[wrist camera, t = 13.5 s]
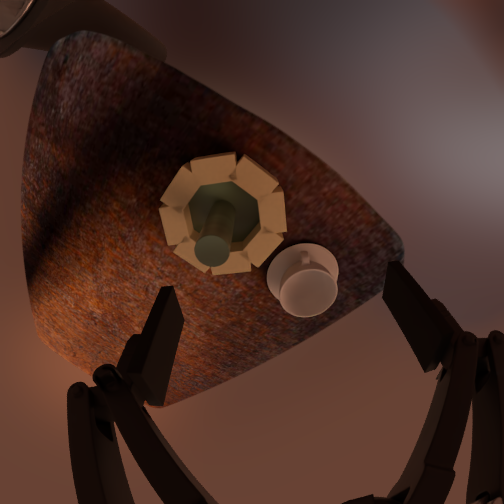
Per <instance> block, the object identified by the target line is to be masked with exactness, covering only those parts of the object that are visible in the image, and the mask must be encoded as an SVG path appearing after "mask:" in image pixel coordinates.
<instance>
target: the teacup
mask: <svg viewBox="0 0 504 504" xmlns="http://www.w3.org/2000/svg"><path fill="white" fill-rule="evenodd" d="M337 278H338V264H337V261H336V259H335V257H334V256H333V255H332V253H331V252H330V251H328V250H327V249H326V248H324V247H322V246H319V245H316V244H310V243H303V244H297V245H293V246H291V247H288V248H286V249H285V250H283V251H282V252H280V253H279V254H278V255H277V256H276V257H275V258H274V259H273V261H272V262H271V264H270V266H269V269H268V272H267V284H268V287H269V289H270V291H271V293H272V294H273V295H274V296H275V297H276V298H277V299H278V300H280V303H281V305H282V307H283V308H284V309H285V310H286V311H287V312H288V313H290V314H292V315H294V316H298V317H311V316H315V315H318V314H320V313H322V312H324V311H325V310H326V309H328V308H329V307H330V306H331V305H332V303H333V302H334V300H335V298H336V295H337V283H336V281H337Z"/></svg>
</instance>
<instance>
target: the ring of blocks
mask: <svg viewBox="0 0 504 504" xmlns="http://www.w3.org/2000/svg"><path fill="white" fill-rule="evenodd" d="M229 181H232V182H234V183H235V184H237V185H238V186H239V187H241V188H242V189H243V190H245V191H246V192H247V193H249V194H250V195H251V196H253V197H254V198H255V199H257V201H258V210H259V218H260V222H259V223H258V224H257V225H256V226H255V228H254V229H253V230H252V231H251V232H250V234H249V235H248V236H247V237H246V238H245V239H244V241H241V242H233V243H231V248H230V255H229V258H228V260H227V261H226V262H225V263H224V264H222V265H220V266H217V267H211V270H212V274H213V275H219V274H229V273H239V272H248V271H251V263H252V264H254V265H255V266H256V267H259V266H260V265H261V264H262V263H263V262H264V261H265V260H266V259H267V257H268V256H269V255H270V254H271V253H272V252H273V251H274V250H275V249H276V248H277V246H278V245H279V244H280V243H281V242H282V241H283V240H284V238H283V235H282V232H287V228H286V216H285V203H284V192H283V190H282V188H281V186H277V185H278V184H279V183H278V180H277V178H276V177H274V176H273V175H272V174H270V173H269V172H268V171H267V170H265V169H264V168H263V167H261V166H260V165H259V164H257V163H256V162H255V161H254V160H252V159H251V158H250V157H248V156H247V155H246V154H243V156H242V157H241V158H240V159H239V161H238V162H237V157H236V152H228V153H221V154H214V155H208V156H202V157H196V158H194V159H192V160H191V161H190V163H188V162H187V163H186V164H184V165H183V166H182V167H181V168H180V170H179V171H178V173H177V174H176V176H175V177H174V179H173V180H172V182H171V183H170V185H169V186H168V188H167V190H166V191H165V193H164V194H163V196H162V197H161V199H160V200H161V201H162V202H163V203H164V204H163V205H162V206H161V207H160V208H159V211H160V216H161V220H162V224H163V228H164V232H165V236H166V239H167V243H168V245H175V244H177V245H176V247H175V249H174V251H173V252H174V253H175V254H177V255H178V256H180V257H181V258H183V259H184V260H186V261H187V262H189V263H190V264H192V265H193V266H195V267H196V268H198V269H199V270H201V271H202V272H204V273H205V272H206V271H207V270H208V269H209V266H206V265H204V264H202V263H201V262H200V261H199V260H198V259H197V258H196V256H195V252H194V247H195V244H196V242H197V239H198V237H199V234H200V233H198V232H197V231H196V230H194V228H193V224H192V219H191V214H190V209H189V205H188V203H189V201H190V200H191V199H192V197H193V196H194V194H195V193H196V191H197V190H198V189H199V187H200V186H201V185H208V184H215V183H222V182H229Z"/></svg>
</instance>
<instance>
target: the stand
mask: <svg viewBox="0 0 504 504" xmlns="http://www.w3.org/2000/svg"><path fill="white" fill-rule="evenodd" d="M188 205H189V209H190V214H191V219H192V224H193V228H194V230H196V231H197V232H198V233H200V234H199V237H198V239H197V242H196V244H195V247H194V252H195V256H196V258H197V259H198V260H199V261H200V262H201V263H202V264H204V265H206V266H209V267H217V266H220V265H222V264H224V263H225V262H226V261H227V260H228V258H229V255H230V248H231V243H233V242H241V241H244V239H245V238H246V237H247V236H248V235H249V234H250V232H251V231H252V230H253V229H254V228H255V226H256V225H257V224H258V223H259V222H260V218H259V210H258V201H257V199H255V198H254V197H253V196H251V195H250V194H249V193H247V192H246V191H245V190H243V189H242V188H241V187H239V186H238V185H237V184H235V183H234V182H232V181H229V182H222V183H215V184H208V185H201V186H200V187H199V189H198V190H197V191H196V193H195V194H194V196H193V197H192V199H191V200H190V201H189V203H188Z"/></svg>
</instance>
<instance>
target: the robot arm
mask: <svg viewBox="0 0 504 504" xmlns="http://www.w3.org/2000/svg"><path fill="white" fill-rule="evenodd" d="M36 2H37V0H0V39H3V38H5V37H7V36H8V35H10V34H11V33H12V32H13V31H14V30H15V29H16V28H17V27H18V26H19V25H20V24H21V23H22V22H23V20H24V19H25V18H26V17H27V15H28V14H29V13H30V11H31V10H32V8H33V7H34V5H35V4H36ZM382 298H383V300H384V301H385V303H386V305H387V306H388V308H389V310H390V311H391V313H392V315H393V316H394V318H395V320H396V322H397V323H398V325H399V327H400V328H401V330H402V332H403V334H404V335H405V337H406V339H407V341H408V342H409V344H410V346H411V348H412V350H413V352H414V353H415V355H416V357H417V359H418V361H419V363H420V365H421V367H422V369H423V370H424V372H425V373H426V372H429V371H432V370H435V369H436V368H437V366H438V364H439V363H440V362H441V364H442V366H443V367H442V369H441V371H440V372H439V374H438V376H437V378H436V379H438V378H439V379H438V383H437V386H436V390H435V393H434V397H433V400H432V403H431V406H430V409H429V412H428V415H427V418H426V420H425V423H424V426H423V428H422V431H421V434H420V436H419V439H418V441H417V444H416V446H415V448H414V450H413V453H412V455H411V457H410V459H409V461H408V463H407V465H406V468H405V470H404V471H403V474H402V475H401V477H400V479H399V480H398V482H397V483H396V484H395V486H394V487H393V488H392V490H391V491H390V493H389V494H388V496H387V498H384V497H374V496H373V494H371V495H368V496H364V497H361V498H357V499H353V500H349V501H347V502H344V503H342V504H444V502H445V500H446V498H447V495H448V493H449V491H450V489H451V486H452V484H453V481H454V478H455V471H454V470H453V467H454V463H455V461H456V457H457V455H458V451H459V448H460V445H461V442H462V438H463V435H464V431H465V427H466V423H467V419H468V415H469V410H470V405H471V401H472V408H473V409H472V410H473V429H472V430H473V431H472V451H471V462H470V471H469V479H468V485H467V494H466V504H504V334H503V333H501V332H500V331H497V330H494V331H491V332H490V334H489V336H488V338H477V337H476V336H475V335H474V334H473V333H471V332H467V331H465V332H464V331H463V330H462V328H461V327H460V326H459V324H458V323H457V322H456V320H455V319H454V318H453V316H451V314H450V313H449V311H447V309H446V307H445V306H444V305H443V303H441V302H440V301H438V300H437V299H432V300H431V299H430V298H429V297H428V295H427V294H426V293H425V292H424V290H423V289H422V288H421V287H420V285H419V284H418V283H417V282H416V281H415V279H414V278H413V277H412V276H411V275H410V273H409V272H408V271H407V270H406V269H405V268H404V266H403V265H402V264H401V263H400V262H399V261H392V262H388V266H387V273H386V279H385V285H384V290H383V296H382ZM183 324H184V317H183V314H182V311H181V308H180V305H179V302H178V299H177V296H176V293H175V290H174V287H173V286H164V287H161V289H160V291H159V293H158V296H157V298H156V300H155V302H154V305H153V307H152V309H151V312H150V314H149V316H148V319H147V321H146V323H145V326H144V328H143V331H142V333H141V334H133V335H132V336H131V338H130V339H129V340H128V341H127V343H126V345H125V349H124V350H123V352H122V355H121V357H120V360H119V362H118V364H117V367H115V366H114V365H111V364H104V365H101V366H100V367H98V368H97V369H96V370H95V371H94V373H93V381H94V382H95V383H96V385H97V386H95V387H88V386H87V385H86V384H85V383H83V382H76V383H74V384H73V385H71V386H70V388H69V389H68V392H67V419H68V435H69V448H70V457H71V465H72V472H73V478H74V484H75V489H76V494H77V499H78V503H79V504H135V503H134V500H133V497H132V494H131V491H130V488H129V484H128V481H127V478H126V474H125V471H124V467H123V463H122V459H121V455H120V451H119V447H118V442H117V437H116V433H115V427H114V422H115V423H116V425H117V427H118V429H119V431H120V433H121V435H122V437H123V438H124V440H125V442H126V444H127V446H128V448H129V450H130V451H131V453H132V455H133V457H134V458H135V460H136V462H137V463H138V465H139V467H140V468H141V470H142V471H143V473H144V475H145V476H146V478H147V479H148V481H149V483H150V484H151V486H152V487H153V488H154V490H155V491H156V493H157V494H158V496H159V497H160V498H161V500H162V501H163V503H164V504H218V503H217V502H216V501H215V500H214V498H213V497H212V496H211V495H210V494H209V493H208V492H207V491H206V490H205V488H204V487H203V486H202V485H201V484H200V483H199V482H198V480H196V478H195V477H194V476H193V475H192V473H191V472H190V471H189V470H188V468H187V467H186V466H185V465H184V463H183V462H182V461H181V460H180V458H179V457H178V455H177V454H176V453H175V451H174V450H173V449H172V447H171V446H170V445H169V443H168V442H167V440H166V439H165V438H164V436H163V435H162V434H161V432H160V430H159V429H158V427H157V426H156V424H155V423H154V421H153V420H152V418H151V416H150V415H149V414H148V412H147V410H146V408H145V407H144V406H143V405H144V401H145V400H146V401H147V403H148V404H149V405H153V406H163V405H164V400H165V396H166V392H167V387H168V383H169V379H170V375H171V371H172V367H173V363H174V359H175V355H176V351H177V347H178V343H179V339H180V335H181V332H182V328H183Z"/></svg>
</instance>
